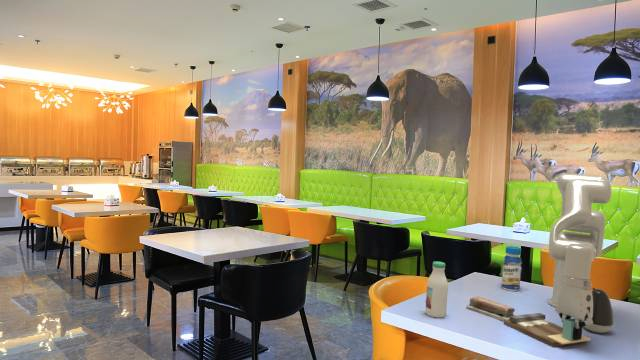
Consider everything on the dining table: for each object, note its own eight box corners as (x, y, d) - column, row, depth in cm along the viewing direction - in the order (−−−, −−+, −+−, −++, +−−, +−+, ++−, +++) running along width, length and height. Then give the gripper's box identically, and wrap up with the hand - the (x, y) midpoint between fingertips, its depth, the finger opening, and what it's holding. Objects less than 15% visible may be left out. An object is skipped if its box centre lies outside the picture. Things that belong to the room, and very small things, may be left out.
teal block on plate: (574, 333, 157) (575, 314, 157) (590, 340, 152) (592, 320, 151) (546, 337, 152) (548, 318, 152) (562, 344, 146) (564, 324, 146)
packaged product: (466, 297, 184) (481, 294, 189) (465, 309, 184) (480, 305, 190) (507, 311, 169) (522, 307, 175) (506, 323, 169) (521, 319, 175)
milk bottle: (447, 313, 176) (451, 262, 175) (444, 319, 169) (447, 266, 168) (427, 309, 179) (430, 259, 178) (423, 315, 172) (426, 262, 171)
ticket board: (535, 320, 174) (536, 311, 173) (586, 341, 154) (587, 331, 154) (503, 324, 167) (504, 314, 167) (552, 347, 148) (553, 336, 148)
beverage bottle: (522, 289, 218) (525, 247, 217) (516, 292, 211) (519, 249, 211) (504, 285, 223) (508, 244, 222) (497, 288, 217) (501, 246, 216)
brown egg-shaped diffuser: (605, 327, 170) (609, 287, 169) (617, 337, 160) (620, 294, 159) (575, 323, 172) (579, 283, 172) (585, 333, 162) (588, 291, 162)
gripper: (608, 288, 144) (603, 345, 145) (562, 275, 159) (558, 327, 160) (591, 290, 141) (586, 348, 142) (546, 276, 156) (542, 329, 157)
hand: (571, 336), depth 151 cm, fingers closed on teal block on plate, 3 cm apart
